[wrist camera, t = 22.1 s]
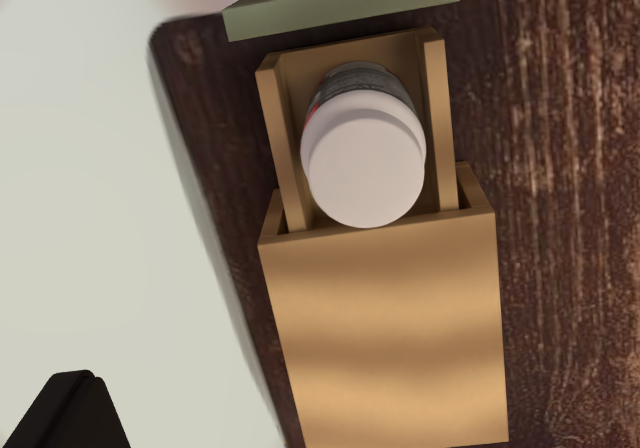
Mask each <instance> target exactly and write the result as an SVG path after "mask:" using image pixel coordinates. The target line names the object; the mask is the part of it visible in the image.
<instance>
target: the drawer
mask: <svg viewBox="0 0 640 448" xmlns="http://www.w3.org/2000/svg"><path fill="white" fill-rule="evenodd" d="M458 1H460V0H239V1H237V2H235V3H234V4H232V5H230V6H228V7H226V8H225V9H223V10H222V15H223V19H224V23H225V28H226V32H227V36H228V41H229V42H232V41H238V40H243V39H249V38H254V37H260V36H266V35H271V34H277V33H283V32H288V31H294V30H300V29H305V28H311V27H317V26H322V25H328V24H334V23H339V22H345V21H350V20H356V19H362V18H367V17H373V16H379V15H384V14H390V13H396V12H401V11H407V10H413V9H418V8H424V7H430V6H435V5H441V4H447V3H452V2H458ZM356 61H365V62H372V63H376V64H379V65H382V66H384V67H386V68H388V69H389V70H391V71H392V72H393V73H395V74H396V75H397V76H398V77H399V78H400V80H401V81H402V82H403V84H404V85H405V87H406V89H407V91H408V92H409V95H410V98H411V101H412V103H413V106H414V109H415V111H416V114H417V116H418V119H419V121H420V123H421V125H422V129H423V132H424V136H425V142H426V158H425V164H424V171H425V172H424V182H423V186H422V189H421V192H420V194H419V196H418V198H417V200H416V201H415V203H414V204H413V206H412V207H411V208H410V209H409V210H408V211H407V212H406V213H405V214H404V215H402V216H401V217H400V218H404V217H411V216H419V215H426V214H433V213H440V212H447V211H454V210H459V204H458V192H457V181H456V169H455V158H454V146H453V135H452V123H451V112H450V101H449V89H448V78H447V66H446V55H445V43H444V39H443V38H442V37H441V36H440V35H439V34H438V33H437V32H436V31H435V30H434V29H433V28H432V27H431V26H423V27H417V28H411V29H406V30H400V31H394V32H388V33H383V34H377V35H371V36H365V37H360V38H354V39H348V40H342V41H337V42H331V43H325V44H319V45H314V46H308V47H302V48H296V49H290V50H285V51H279V52H273V53H268V54H267V55H266V57H265V58H264V60H263V61H262V63H261V64H260V66H259V67H258V68H257V70H256V71H255V76H256V81H257V86H258V90H259V95H260V99H261V104H262V109H263V113H264V118H265V123H266V127H267V132H268V136H269V141H270V146H271V150H272V155H273V160H274V164H275V169H276V173H277V178H278V183H279V187H280V192H281V197H282V201H283V206H284V210H285V215H286V220H287V224H288V229H289V234H290V233H297V232H304V231H312V230H319V229H326V228H333V227H340V226H347V225H345V224H342V223H340V222H338V221H336V220H334V219H333V218H331V217H330V216H328V215H327V214H326V213H325V212H324V211H323V210H322V209H321V208H320V207H319V205H318V204H317V203H316V201H315V199H314V198H313V195H312V193H311V190H310V187H309V183H308V179H307V177H306V175H305V172H304V169H303V166H302V161H301V155H300V146H301V139H302V134H303V130H304V125H305V121H306V116H307V111H308V106H309V101H310V98H311V96H312V93H313V91H314V89H315V87H316V85H317V84H318V83H319V81H320V80H321V79H322V78H323V77H324V76H325V75H326V74H327V73H328V72H330V71H331V70H332V69H334V68H336V67H338V66H340V65H342V64H345V63H349V62H356Z"/></svg>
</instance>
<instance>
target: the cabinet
mask: <svg viewBox="0 0 640 448" xmlns="http://www.w3.org/2000/svg"><path fill="white" fill-rule="evenodd" d="M455 169H456V181H457V192H458V204H459V210H454V211H447V212H440V213H433V214H426V215H419V216H411V217H404V218H398V219H397V220H395V221H393V222H391V223H388V224H386V225H383V226H379V227H373V228H358V227H352V226H348V225H347V226H340V227H333V228H326V229H319V230H312V231H304V232H297V233H290V234H289V229H288V224H287V220H286V215H285V210H284V206H283V201H282V197H281V192H280V188H278V189H274V190H273V194H272V197H271V200H270V204H269V207H268V210H267V214H266V217H265V221H264V224H263V227H262V231H261V234H260V238H259V241H258V245H257V248H258V252H259V256H260V260H261V264H262V268H263V272H264V276H265V281H266V285H267V289H268V293H269V297H270V301H271V305H272V309H273V313H274V318H275V322H276V326H277V330H278V334H279V338H280V342H281V346H282V351H283V355H284V359H285V363H286V367H287V371H288V375H289V379H290V384H291V388H292V392H293V396H294V400H295V404H296V408H297V412H298V416H299V421H300V425H301V429H302V433H303V437H304V441H305V445H306V448H446V447H456V446H466V445H476V444H486V443H496V442H507V441H509V436H508V420H507V404H506V387H505V371H504V355H503V338H502V322H501V306H500V289H499V273H498V257H497V240H496V224H495V213H494V211H493V209H492V207H491V206H490V204H489V202H488V200H487V198H486V196H485V194H484V192H483V191H482V189H481V187H480V185H479V183H478V181H477V179H476V177H475V176H474V174H473V172H472V170H471V168H470V166H469V164H468V162H467V161H460V162H455Z"/></svg>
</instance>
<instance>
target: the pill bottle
mask: <svg viewBox="0 0 640 448" xmlns="http://www.w3.org/2000/svg"><path fill="white" fill-rule="evenodd" d="M300 155H301V161H302V166H303V169H304V172H305V175H306V177H307V179H308V183H309V187H310V190H311V193H312V195H313V198H314V199H315V201H316V203H317V204H318V205H319V207H320V208H321V209H322V210H323V211H324V212H325V213H326V214H327V215H328V216H330V217H331V218H333V219H334V220H336V221H338V222H340V223H342V224H345V225H348V226H352V227H358V228H373V227H379V226H383V225H386V224H388V223H391V222H393V221H395V220H397V219H398V218H400V217H401V216H402V215H404V214H405V213H406V212H407V211H408V210H409V209H410V208H411V207H412V206H413V204H414V203H415V201H416V200H417V198H418V196H419V194H420V192H421V189H422V186H423V182H424V172H425V171H424V164H425V158H426V142H425V136H424V132H423V129H422V125H421V123H420V121H419V119H418V116H417V114H416V111H415V109H414V106H413V103H412V101H411V98H410V95H409V92H408V91H407V89H406V87H405V85H404V84H403V82H402V81H401V80H400V78H399V77H398V76H397V75H396V74H395V73H393V72H392V71H391V70H389V69H388V68H386V67H384V66H382V65H379V64H376V63H372V62H365V61H356V62H349V63H345V64H342V65H340V66H338V67H336V68H334V69H332V70H331V71H330V72H328V73H327V74H326V75H325V76H324V77H323V78H322V79H321V80H320V81H319V83H318V84H317V85H316V87H315V89H314V91H313V93H312V96H311V98H310V101H309V106H308V111H307V116H306V121H305V125H304V130H303V134H302V139H301V146H300Z"/></svg>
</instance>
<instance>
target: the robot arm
mask: <svg viewBox="0 0 640 448" xmlns="http://www.w3.org/2000/svg"><path fill="white" fill-rule="evenodd" d="M3 448H131V447H130V444H129V442H128V440H127V437H126V434H125V432H124V429H123V427H122V425H121V422H120V419H119V417H118V414H117V412H116V409H115V407H114V404H113V402H112V400H111V397H110V395H109V392H108V390H107V387H106V385H105V382H104V381H103V379H102V378H100V377H95V376H94V374H93V373H92V372H91V371H90V370H79V371H70V372H61V373H56V374H53V375H52V376H51V377H50V378H49V380H48V381H47V383H46V384H45V386H44V387H43V389H42V390H41V392H40V393H39V394H38V396H37V397H36V399H35V400H34V402H33V403H32V405H31V406H30V408H29V409H28V411H27V412H26V414H25V415H24V417H23V418H22V419H21V421H20V422H19V424H18V425H17V427H16V428H15V430H14V431H13V433H12V434H11V436H10V437H9V439H8V440H7V442H6V443H5V445H4V446H3Z"/></svg>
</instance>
